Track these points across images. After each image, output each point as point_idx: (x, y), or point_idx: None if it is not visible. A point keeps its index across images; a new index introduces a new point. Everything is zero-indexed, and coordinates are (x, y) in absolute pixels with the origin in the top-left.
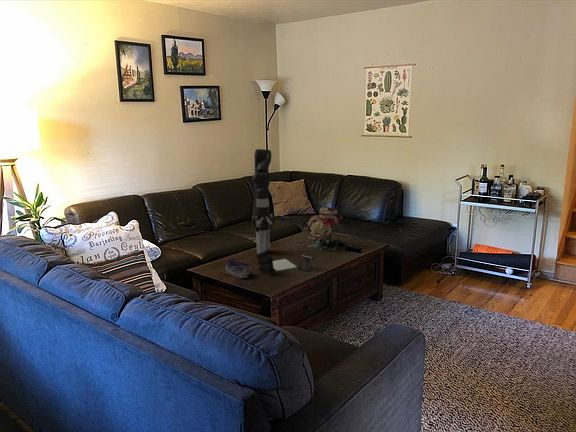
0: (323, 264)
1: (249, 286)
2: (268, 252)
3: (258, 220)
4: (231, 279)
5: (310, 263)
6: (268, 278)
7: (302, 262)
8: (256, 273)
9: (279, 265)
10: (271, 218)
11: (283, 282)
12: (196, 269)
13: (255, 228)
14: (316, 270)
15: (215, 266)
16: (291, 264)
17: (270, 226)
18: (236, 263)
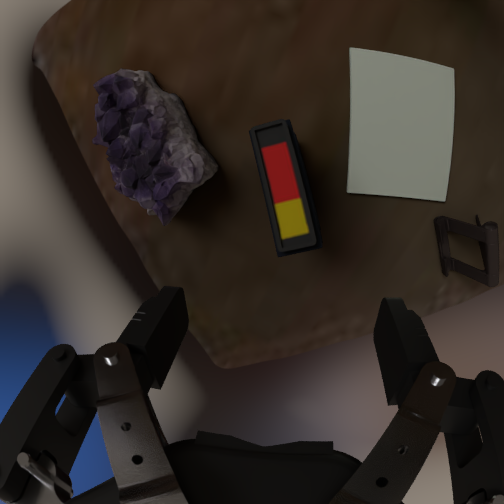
0: None
1: (174, 285)
2: (298, 252)
3: (136, 442)
4: None
5: (471, 275)
6: (269, 252)
7: (465, 235)
8: (243, 165)
9: (391, 134)
10: (491, 448)
11: (303, 314)
12: (47, 32)
13: (130, 331)
14: None
15: (106, 7)
16: (442, 159)
17: (385, 383)
18: (130, 137)
